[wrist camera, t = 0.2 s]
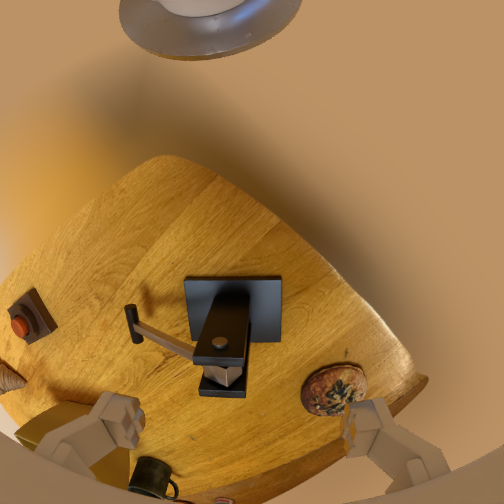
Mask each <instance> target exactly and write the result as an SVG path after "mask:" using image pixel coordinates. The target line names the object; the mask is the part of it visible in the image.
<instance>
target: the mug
mask: <svg viewBox="0 0 504 504" xmlns="http://www.w3.org/2000/svg"><path fill="white" fill-rule="evenodd" d="M170 476H171V469H170V468H169V467H168V466H167V465H166V464H164V463H163V462H161V461H158V460H156V459H153V458H148V457H143V458H140V459H138V462H137V464H136V467H135V469H134V472H133V475H132V477H131V480H130V483H129V486H128V491H130V492H133V493H137V494H141V495H144V496H148V497H153V498H157V499H162V500H165V499H168V500H174V499H176V498H177V497H178V494H179V490H178V486H177V484H176V483H175V482H174V481H172V480H171V479H170ZM168 483H170V484H172V486H173V487H174V490H175V496H174V497H169V496H166V495H165V494H166V491H167V487H168ZM164 498H165V499H164Z"/></svg>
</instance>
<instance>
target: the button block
mask: <svg viewBox="0 0 504 504" xmlns="http://www.w3.org/2000/svg"><path fill="white" fill-rule="evenodd" d="M8 312H9V314H10V317H11V321H12V320H13V319H14V318H15V317H17V316H21V317H22V318H23V319H24V320H25V322H26V323H27V325H28V328H29V333H28V334H26V335H25V336H24V337H23V339H24V340H26V342H27V343H28V345H30V344H32V343H33V342H35V341H37V340H39V339H41V338H43V337H45V336H47V335H48V334H50V333H52V332H53V331H54V330H55V329H56V328H57V325H56V324H55V322H54V320H53V319H52V317H51V316H50V314H49V312H48V311H47V309H46V307H45V306H44V304H43V302H42V300H41V299H40V297H39V295H38V293H37V291H36V290H35V288H34V289H32V290H31V291H29V292H28V293H26V294H25V295H24V296H23V297H22V298H20V299H19V300H18V301H17V302H16V303H14V304H13V305H12V306H11V307H10V308H9V309H8Z"/></svg>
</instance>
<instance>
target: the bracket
mask: <svg viewBox="0 0 504 504" xmlns="http://www.w3.org/2000/svg"><path fill="white" fill-rule="evenodd" d="M184 288H185V296H186V304H187V311H188V318H189V326H190V332H191V339H192V341H198V342H197V345H196V347H195V350H194V353H193V355H192V358H193V364H194V365H203V366H225V367H242V374H241V375H240V376H239V377H238V378H237V379H236V380H235V381H234V382H233V383H232V384H231V385H229V386H228V387H226V386H224V385H222V384H220V383H217V382H215V381H213V380H211V379H209V378H207V377H205V376H204V371H203V375H202V378H201V382H200V385H199V389H198V390H199V395H200V396H205V397H222V398H246V390H247V378H248V366H249V354H250V342H281V302H282V278H281V276H276V277H186V278H185V279H184Z"/></svg>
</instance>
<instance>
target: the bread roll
mask: <svg viewBox="0 0 504 504" xmlns="http://www.w3.org/2000/svg"><path fill="white" fill-rule="evenodd" d="M366 391H367V382H366V379H365V377H364V375H363V371H362V370H361V369H359V368H357V367H353V366H352V365H337V366H333V367H330V368H327V369H324V370H320V371H319V372H317V373H316V374H314V375H313V376H312V377H310V378H309V379H308V381H307V382H306V384H305V385H304V387H303V389H302V392H301V402H302V404H303V406H304V407H305V409H306V410H307V411H308V412H309V413H312V414H314V415H318V416H340V415H343V414H345V412H344V406H345V404H346V403H348V402H356V401H362V400H363V399H364V397H365V394H366Z"/></svg>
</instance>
